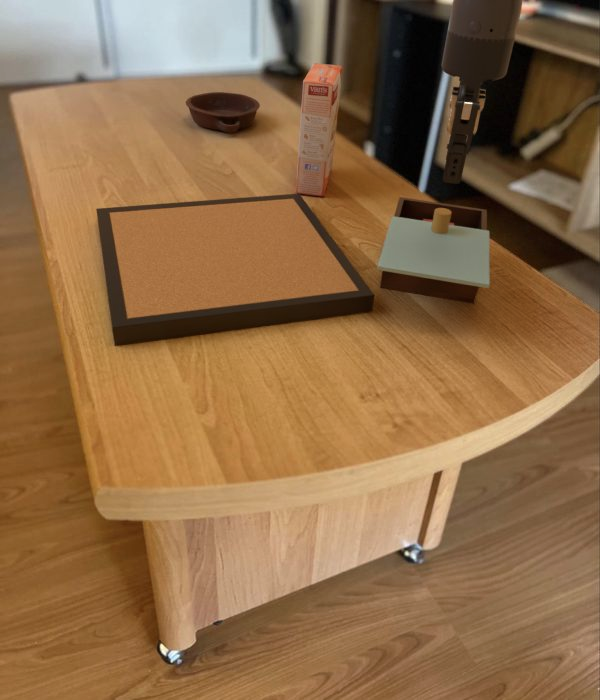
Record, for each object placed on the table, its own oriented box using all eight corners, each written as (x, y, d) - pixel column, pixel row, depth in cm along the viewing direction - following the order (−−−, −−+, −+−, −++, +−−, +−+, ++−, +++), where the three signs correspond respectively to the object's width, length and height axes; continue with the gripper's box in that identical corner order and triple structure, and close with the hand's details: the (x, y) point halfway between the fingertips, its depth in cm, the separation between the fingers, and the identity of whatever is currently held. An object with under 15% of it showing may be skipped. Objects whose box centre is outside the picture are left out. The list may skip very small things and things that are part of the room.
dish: (190, 139, 142) (189, 116, 139) (183, 109, 159) (182, 89, 156) (267, 137, 146) (267, 115, 143) (251, 109, 163) (251, 88, 160)
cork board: (372, 311, 90) (298, 207, 116) (374, 294, 88) (299, 193, 115) (114, 345, 80) (98, 224, 107) (112, 327, 78) (96, 208, 105)
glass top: (488, 234, 93) (494, 211, 91) (488, 288, 80) (495, 263, 78) (391, 219, 95) (395, 197, 93) (376, 269, 83) (380, 245, 80)
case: (475, 254, 106) (486, 209, 101) (474, 303, 93) (486, 255, 88) (392, 240, 108) (399, 196, 103) (380, 287, 95) (387, 239, 90)
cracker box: (325, 198, 120) (335, 83, 108) (294, 194, 121) (300, 79, 108) (334, 171, 132) (343, 64, 119) (305, 168, 132) (312, 61, 120)
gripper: (518, 45, 65) (481, 197, 75) (514, 22, 76) (482, 157, 86) (444, 37, 66) (418, 188, 76) (451, 15, 77) (427, 149, 87)
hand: (452, 171), depth 81 cm, fingers open, 7 cm apart
